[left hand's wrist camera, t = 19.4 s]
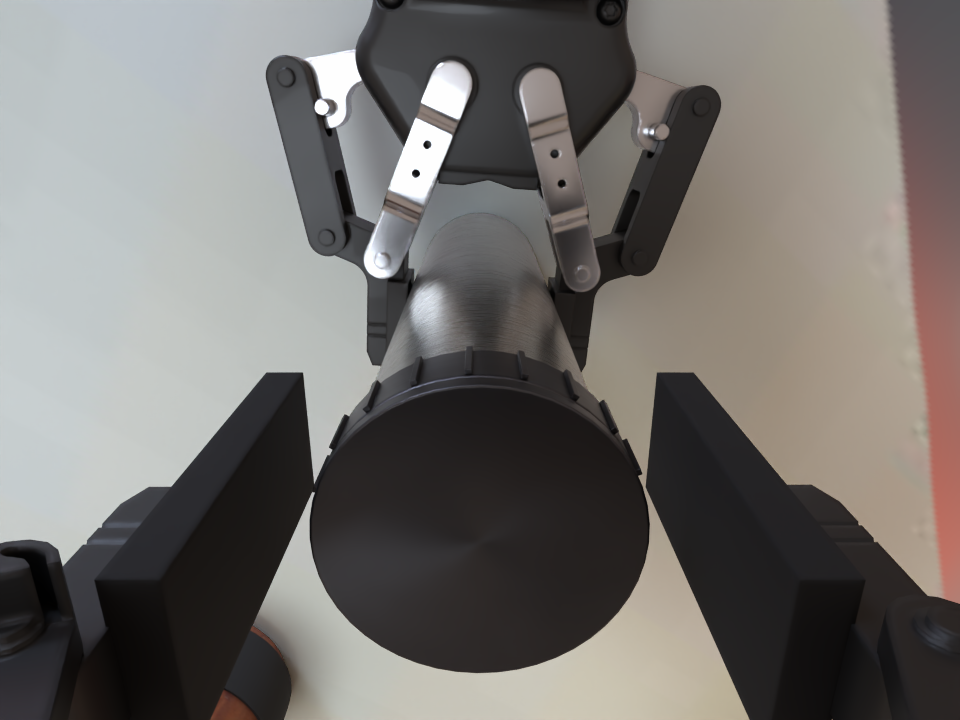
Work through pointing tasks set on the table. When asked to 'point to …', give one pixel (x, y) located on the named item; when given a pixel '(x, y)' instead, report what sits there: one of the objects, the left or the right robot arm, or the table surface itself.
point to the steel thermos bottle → (479, 299)
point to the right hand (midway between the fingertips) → (474, 377)
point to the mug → (256, 683)
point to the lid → (479, 513)
